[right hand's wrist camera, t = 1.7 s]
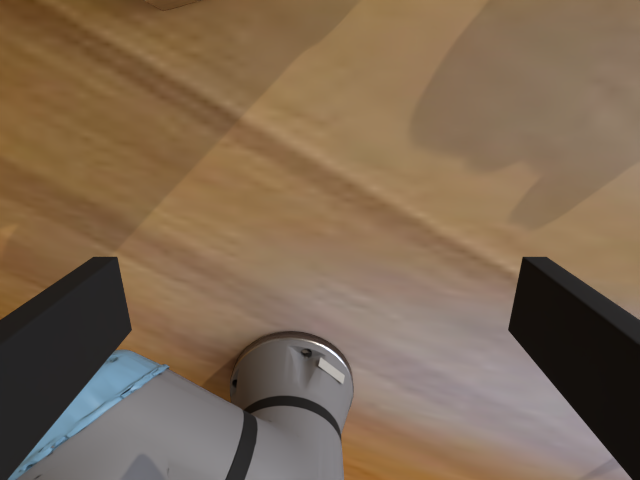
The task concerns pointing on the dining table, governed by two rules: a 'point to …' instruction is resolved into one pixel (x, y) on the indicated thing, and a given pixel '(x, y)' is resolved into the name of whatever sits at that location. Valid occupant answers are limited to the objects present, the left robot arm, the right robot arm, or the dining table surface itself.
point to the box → (169, 3)
